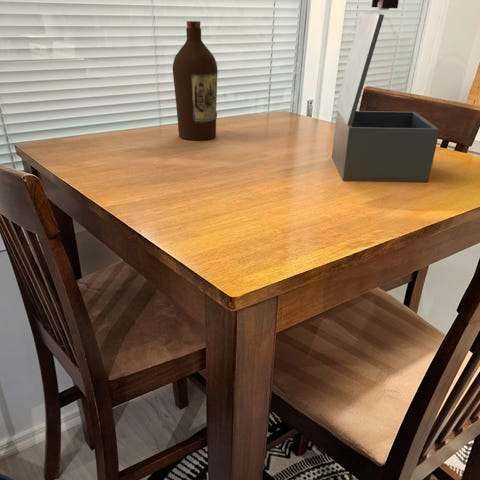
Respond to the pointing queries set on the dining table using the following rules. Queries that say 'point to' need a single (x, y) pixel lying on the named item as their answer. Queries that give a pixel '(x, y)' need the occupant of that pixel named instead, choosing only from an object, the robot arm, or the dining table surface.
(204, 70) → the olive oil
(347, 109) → the lid
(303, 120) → the dining table surface
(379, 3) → the showerhead
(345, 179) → the chest
